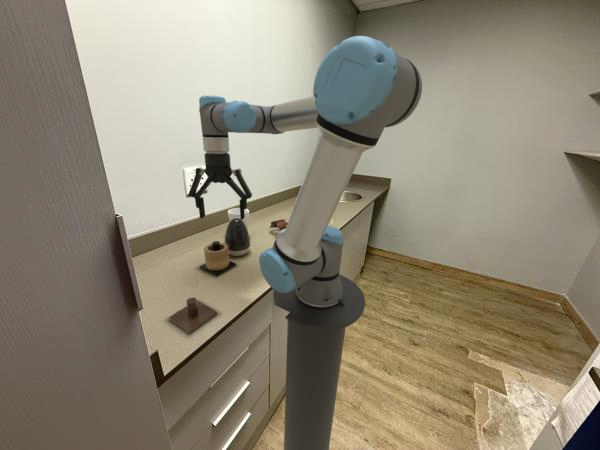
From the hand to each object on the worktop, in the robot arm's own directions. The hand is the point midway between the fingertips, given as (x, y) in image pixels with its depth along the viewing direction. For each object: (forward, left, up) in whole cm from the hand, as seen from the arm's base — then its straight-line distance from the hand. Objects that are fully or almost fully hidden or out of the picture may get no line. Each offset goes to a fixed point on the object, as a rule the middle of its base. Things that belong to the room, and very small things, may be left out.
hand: (222, 217), depth 82 cm
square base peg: (+2, +2, -19) cm, 19 cm away
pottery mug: (+2, -38, -19) cm, 43 cm away
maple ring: (+2, +2, -18) cm, 18 cm away
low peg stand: (-13, +23, -19) cm, 32 cm away
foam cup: (+15, -22, -19) cm, 33 cm away
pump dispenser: (+4, -10, -19) cm, 22 cm away
